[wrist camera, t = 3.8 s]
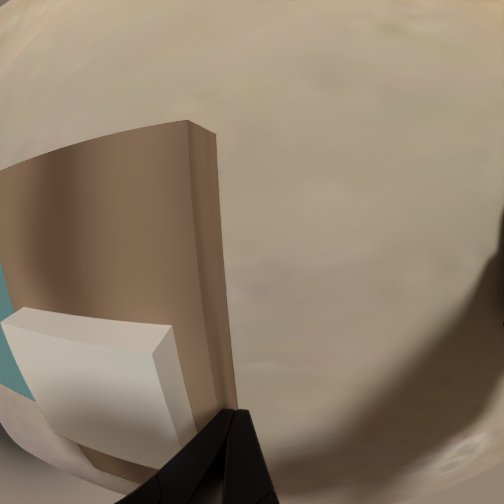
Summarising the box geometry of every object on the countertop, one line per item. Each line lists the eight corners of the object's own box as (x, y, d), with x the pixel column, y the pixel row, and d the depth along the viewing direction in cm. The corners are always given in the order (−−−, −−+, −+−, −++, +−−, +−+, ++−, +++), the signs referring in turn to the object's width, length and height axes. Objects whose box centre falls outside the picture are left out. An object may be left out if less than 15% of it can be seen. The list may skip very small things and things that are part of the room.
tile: (171, 325, 8) (151, 354, 7) (201, 448, 10) (193, 476, 8) (23, 306, 9) (0, 322, 7) (69, 414, 10) (55, 433, 9)
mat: (34, 201, 11) (29, 202, 10) (102, 423, 14) (99, 426, 14) (-47, 222, 12) (-50, 223, 12) (3, 381, 16) (1, 383, 16)
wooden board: (215, 134, 9) (187, 119, 6) (244, 462, 14) (237, 502, 11) (36, 170, 10) (-11, 175, 8) (113, 438, 15) (95, 467, 12)
